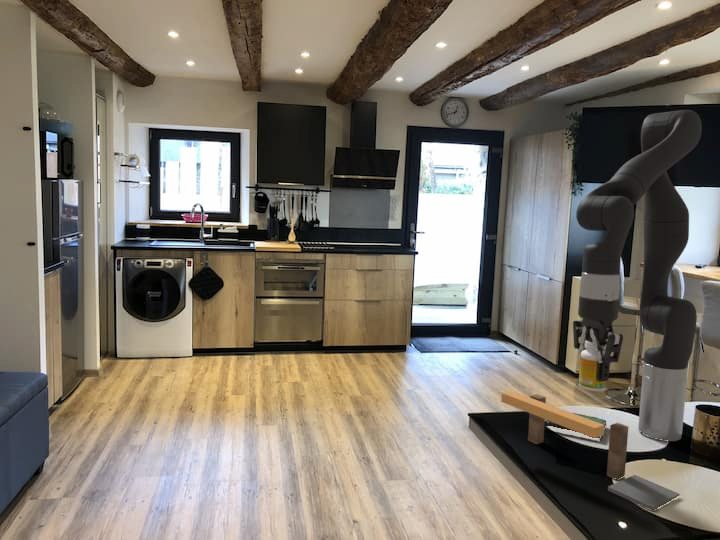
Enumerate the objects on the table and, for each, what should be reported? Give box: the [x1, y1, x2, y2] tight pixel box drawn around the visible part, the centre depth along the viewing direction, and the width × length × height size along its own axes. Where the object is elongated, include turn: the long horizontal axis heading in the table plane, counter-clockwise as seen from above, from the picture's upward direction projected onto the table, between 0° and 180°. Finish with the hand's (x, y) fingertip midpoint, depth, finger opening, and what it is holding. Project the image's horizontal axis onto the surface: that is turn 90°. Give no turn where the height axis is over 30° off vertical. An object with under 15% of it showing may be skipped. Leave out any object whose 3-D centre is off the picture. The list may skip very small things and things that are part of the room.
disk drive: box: [544, 411, 607, 438], centre depth 142 cm, size 10×3×15 cm
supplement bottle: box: [578, 340, 608, 392], centre depth 119 cm, size 5×5×10 cm
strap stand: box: [527, 393, 629, 479], centre depth 125 cm, size 2×22×11 cm, turn 34°
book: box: [607, 474, 681, 512], centre depth 110 cm, size 9×9×1 cm
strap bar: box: [500, 390, 605, 438], centre depth 119 cm, size 3×23×2 cm, turn 34°
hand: (593, 375), depth 119 cm, fingers closed on supplement bottle, 5 cm apart
